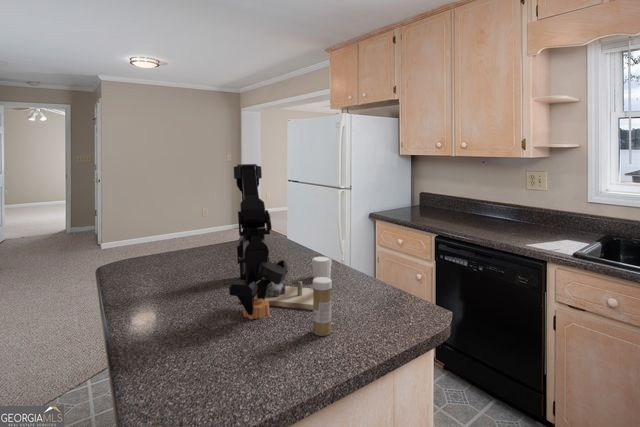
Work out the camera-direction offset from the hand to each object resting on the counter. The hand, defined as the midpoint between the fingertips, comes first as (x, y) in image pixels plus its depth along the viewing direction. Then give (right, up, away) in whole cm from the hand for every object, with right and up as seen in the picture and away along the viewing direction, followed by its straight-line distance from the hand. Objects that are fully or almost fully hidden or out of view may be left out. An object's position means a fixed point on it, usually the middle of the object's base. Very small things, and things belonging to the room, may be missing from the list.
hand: (256, 309), depth 103 cm
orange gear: (0, -1, 0) cm, 1 cm away
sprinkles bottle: (+18, -3, -11) cm, 21 cm away
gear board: (+7, +1, +11) cm, 13 cm away
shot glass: (+18, +3, +28) cm, 34 cm away
